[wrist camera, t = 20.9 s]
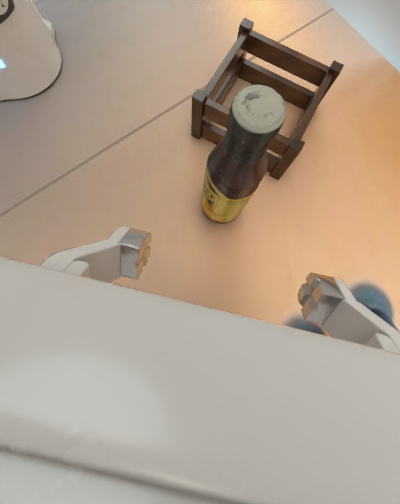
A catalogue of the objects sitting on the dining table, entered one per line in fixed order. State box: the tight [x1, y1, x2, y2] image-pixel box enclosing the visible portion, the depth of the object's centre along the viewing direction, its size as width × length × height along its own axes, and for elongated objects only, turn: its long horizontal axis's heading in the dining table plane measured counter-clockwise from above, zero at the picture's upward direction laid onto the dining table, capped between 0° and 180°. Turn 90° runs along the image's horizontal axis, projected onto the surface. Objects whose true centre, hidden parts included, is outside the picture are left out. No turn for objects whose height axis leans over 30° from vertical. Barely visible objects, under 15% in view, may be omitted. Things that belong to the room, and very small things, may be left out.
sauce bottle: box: [202, 85, 286, 223], centre depth 26 cm, size 6×6×20 cm
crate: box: [191, 18, 344, 180], centre depth 35 cm, size 16×16×7 cm
